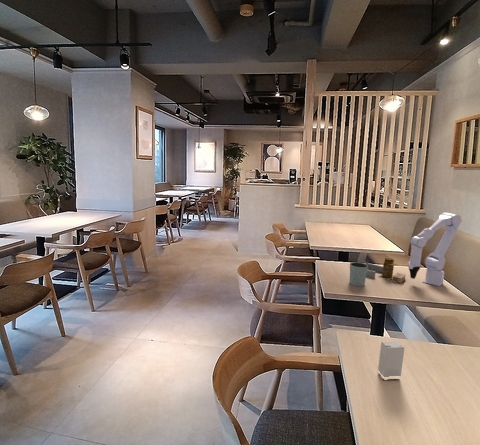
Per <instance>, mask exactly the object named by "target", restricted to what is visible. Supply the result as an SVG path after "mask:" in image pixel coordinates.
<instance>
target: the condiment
mask: <svg viewBox="0 0 480 445" xmlns="http://www.w3.org/2000/svg"><path fill="white" fill-rule="evenodd" d="M394 261H395V260H394V258H390V257H386V258H384V261H383V272H382V273H381V275H378V278H380V279H384V280H386V281H390V280H392V278H393V276H394V275H393V274H394V269H395V268H394V267H395V263H394Z"/></svg>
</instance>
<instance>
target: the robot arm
mask: <svg viewBox="0 0 480 445" xmlns="http://www.w3.org/2000/svg"><path fill="white" fill-rule="evenodd" d="M461 223H462V217H461V215H460V214H458V213H450V212H447V211H445V212H442V213H441V214H440V215H439V216H438V219H437V220H436V221H435V222H434V223H432V225H431V226H430V227H429V228H428V227H425V228H424V229H423V230H422V231H421V232H419V234H417V235H414V236H412V237H411V239H410V241H409V243H410V245H411V246H410V247H411V250H410V257H409V258H410V259H409V261H407V264H408V270H409V273H410V274H409V277H410V278H411V279H413V280H415V279H416V277H417V274H418V272H419V271H420V270H421V265H422V264H421V261H422V253H423V248H424V247H425V246H426V244H427V242H428V241H429V240H431V238H432V237H433V236H434V235H435V234H434V233H435V232H436V231H438V230H439V229H441V228H442V227H445V231H444V233H443V235H442V236H441V239H440V240H439V241H438V244H437V246H436V248H435V249H434V251H433V252H429V254H428V255H427V257H426V258H425V259H424V265H425V268H426V270H425V271H426V272H425V279H424V280H423V281H422V283H426V284H429V285H433V286H437V287H441V286H442V285H443V284H444V280H445V271H444V270H443V269H444V267H445V263H446V258H445V255H446V252H447V250H448V249H449V247H450V245H451V242H452V241H453V239H454V237H455V235H456V234H457V232H458V229H459V226H460V225H461Z"/></svg>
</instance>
